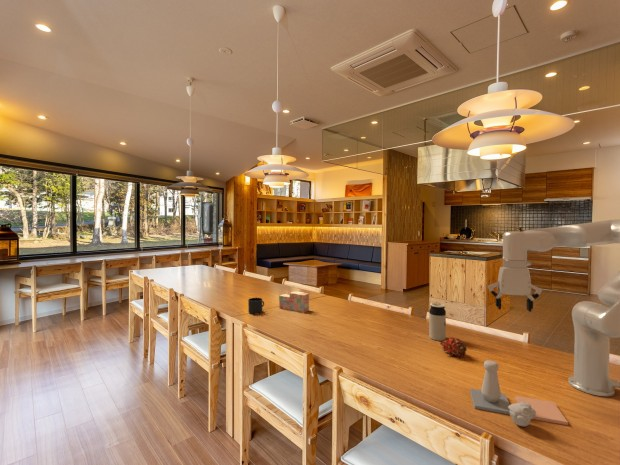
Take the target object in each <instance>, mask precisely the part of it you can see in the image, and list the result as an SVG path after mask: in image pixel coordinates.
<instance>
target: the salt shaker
mask: <svg viewBox="0 0 620 465" xmlns="http://www.w3.org/2000/svg"><path fill="white" fill-rule="evenodd" d="M483 367H484V369H485V371H484V377H483V380H482V384H481V389H480V390H481V393H482V394H483V397H484V399H485V400H486V401H488V402H490V403H496V402H498V400H499V399H500V397H501V394H502V393H501V387H500V383H499V376H498V371H499V368H500V367H499V364H498V362H496V361H494V360H491V359H490V360H489V359H488V360H484V363H483Z"/></svg>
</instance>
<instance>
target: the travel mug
mask: <svg viewBox="0 0 620 465" xmlns="http://www.w3.org/2000/svg"><path fill="white" fill-rule="evenodd" d="M429 305H430V308H429V310H428V312H429V314H428V315H429V318H428V319H429V320H428V324H429V325H428V327H429V328H428V329H429V330H428V332H429V333H428V334H429V335H428V337H429V338H430V339H431V340H433V341H438V342H439V341H440V342H442V341H445V340H447V339H446V338H447V336H446V334H447V330H446V329H447V328H446V325H447V324H446V323H447V320H446V319H447V317H446V316H447V314H446V313H447V312H446V311H447V310H446V309H445V308H446V304H445V303H440V302H431V303H429Z"/></svg>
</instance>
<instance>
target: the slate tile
mask: <svg viewBox="0 0 620 465" xmlns="http://www.w3.org/2000/svg"><path fill="white" fill-rule="evenodd" d="M469 392H470V397H471V400H472V403H473V407H474V409H475V410H479V411H481V410H482V411H487V412H491V413H498V414H504V415H509V416H510V412H509V411H510V409H509V408H508V406H509V405H511V404H510V402H509V399H508V398H507V395H506V394H505V393H501V397H500V399H499V400H498V402H496V403H490V402H488V401H486V400H485V399H484V397H483V394H482V393H481V389H475V388H469Z"/></svg>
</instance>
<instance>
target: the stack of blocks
mask: <svg viewBox="0 0 620 465" xmlns="http://www.w3.org/2000/svg"><path fill="white" fill-rule="evenodd" d="M278 298H279V299H278V300H279V309H282V310H288V311H294V312H299V313H307V312H308V311H309V310H310V304H309V303H310V293H309V292H300V291H292V292H289V294H286V293H284V294H281V295H279V296H278Z"/></svg>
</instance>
